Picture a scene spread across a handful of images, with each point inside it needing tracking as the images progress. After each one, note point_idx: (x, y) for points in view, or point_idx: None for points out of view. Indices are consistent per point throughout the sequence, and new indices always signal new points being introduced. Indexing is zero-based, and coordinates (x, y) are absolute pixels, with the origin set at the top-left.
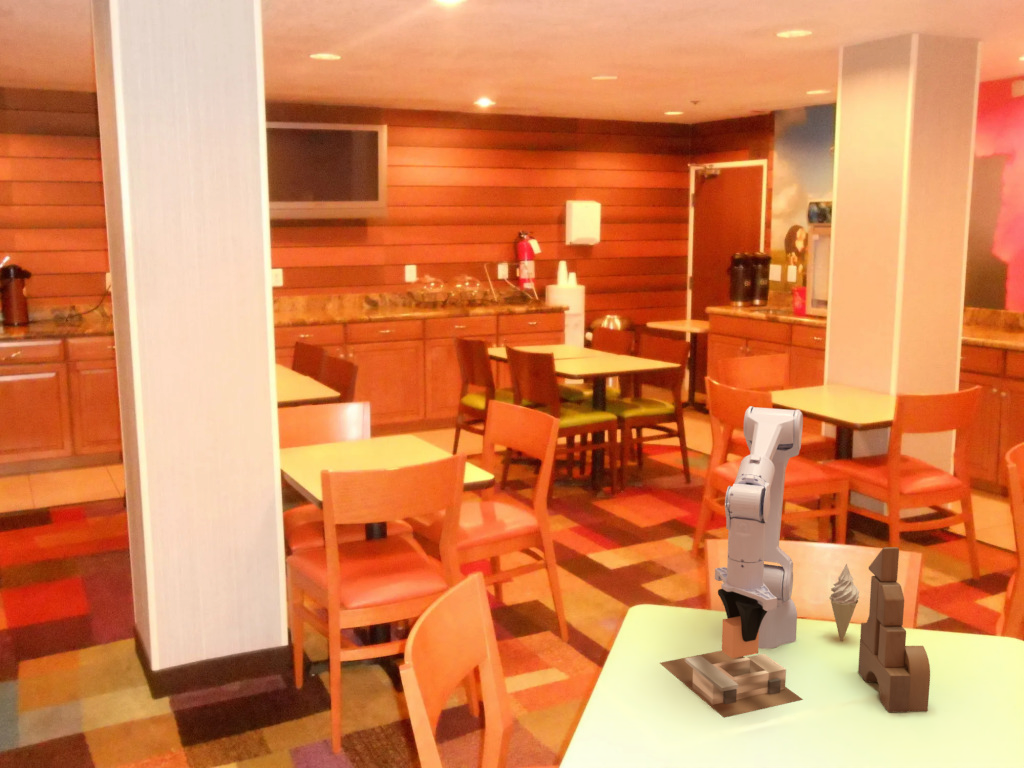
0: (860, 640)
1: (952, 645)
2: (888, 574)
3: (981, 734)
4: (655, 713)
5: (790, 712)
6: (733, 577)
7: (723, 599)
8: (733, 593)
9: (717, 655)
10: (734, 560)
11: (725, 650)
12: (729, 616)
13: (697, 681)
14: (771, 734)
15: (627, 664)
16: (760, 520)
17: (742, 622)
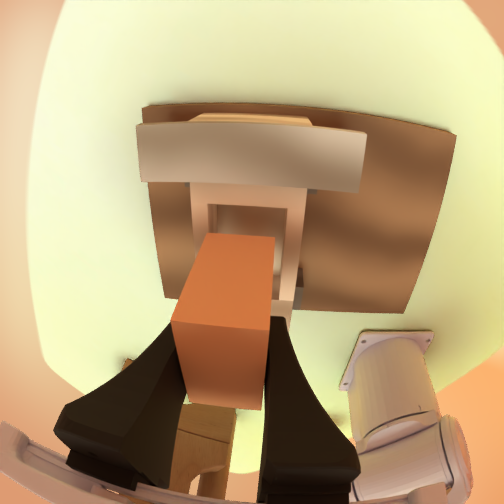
0: (227, 440)
1: (249, 458)
2: None
3: (81, 379)
4: None
5: (151, 257)
6: None
7: (300, 432)
8: (261, 484)
9: (403, 274)
10: None
11: (249, 241)
12: (272, 364)
13: (282, 118)
14: (90, 177)
15: (493, 85)
16: None
17: (154, 361)
